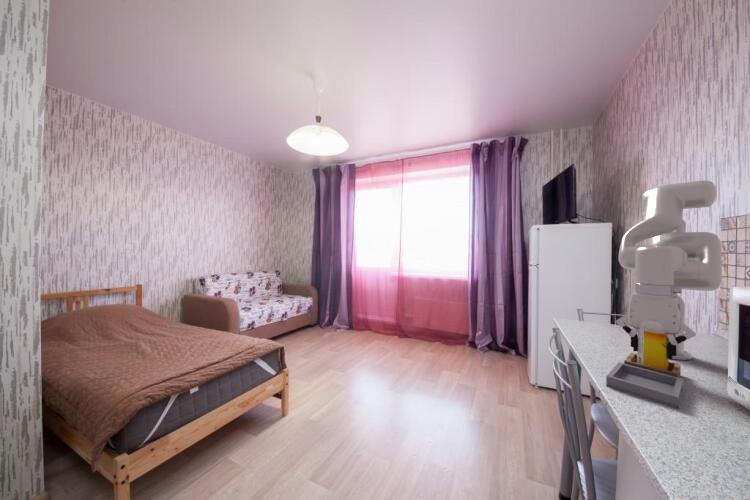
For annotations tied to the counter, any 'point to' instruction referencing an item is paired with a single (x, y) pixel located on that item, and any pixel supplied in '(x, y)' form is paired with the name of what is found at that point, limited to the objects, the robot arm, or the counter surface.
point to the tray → (646, 384)
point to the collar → (672, 367)
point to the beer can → (652, 345)
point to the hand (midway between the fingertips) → (652, 353)
